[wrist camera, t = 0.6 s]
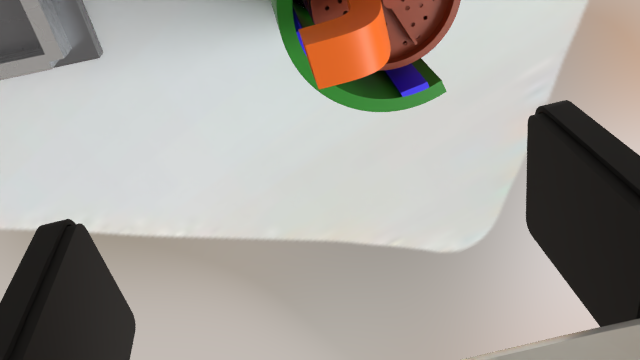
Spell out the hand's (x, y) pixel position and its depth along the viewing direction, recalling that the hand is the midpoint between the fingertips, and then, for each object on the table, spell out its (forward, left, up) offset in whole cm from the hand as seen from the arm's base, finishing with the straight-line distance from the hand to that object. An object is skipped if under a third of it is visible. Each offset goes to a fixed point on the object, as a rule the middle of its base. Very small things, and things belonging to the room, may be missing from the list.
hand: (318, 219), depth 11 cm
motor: (0, +4, -30) cm, 30 cm away
